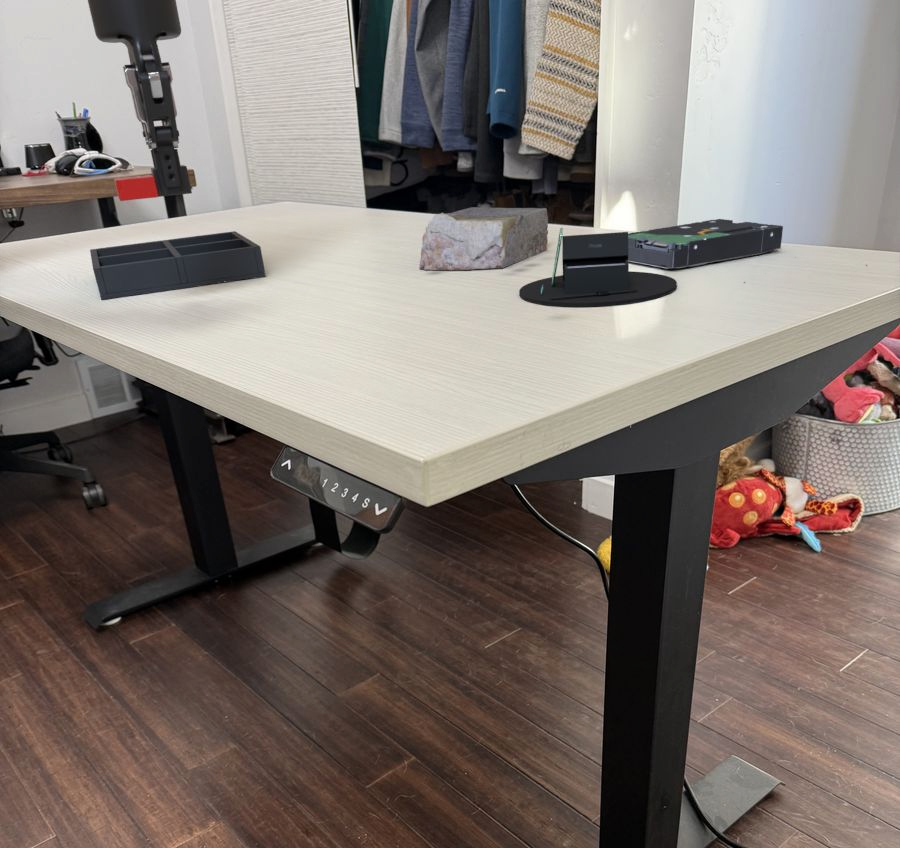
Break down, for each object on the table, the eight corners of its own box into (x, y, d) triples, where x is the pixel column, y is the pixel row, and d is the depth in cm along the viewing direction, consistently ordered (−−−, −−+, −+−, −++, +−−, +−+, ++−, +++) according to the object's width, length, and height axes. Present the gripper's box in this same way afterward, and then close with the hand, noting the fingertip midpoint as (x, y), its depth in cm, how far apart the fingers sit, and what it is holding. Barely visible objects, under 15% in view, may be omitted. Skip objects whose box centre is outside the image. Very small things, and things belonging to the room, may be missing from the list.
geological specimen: (551, 205, 105) (498, 216, 93) (549, 258, 108) (498, 275, 96) (472, 204, 109) (413, 214, 98) (473, 255, 112) (415, 271, 101)
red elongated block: (120, 201, 82) (113, 173, 81) (118, 198, 84) (112, 171, 83) (192, 193, 84) (187, 166, 83) (188, 191, 86) (183, 164, 85)
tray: (101, 300, 100) (92, 268, 98) (97, 277, 116) (89, 249, 114) (265, 276, 106) (260, 246, 104) (240, 257, 121) (235, 231, 120)
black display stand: (668, 270, 89) (671, 213, 86) (684, 301, 76) (688, 234, 73) (523, 279, 91) (521, 223, 88) (514, 310, 78) (512, 246, 75)
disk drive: (716, 244, 101) (612, 260, 96) (718, 218, 100) (613, 233, 95) (782, 252, 93) (673, 271, 88) (785, 224, 92) (675, 242, 86)
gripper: (81, -13, 80) (129, 191, 89) (83, -35, 69) (137, 201, 78) (163, -16, 82) (202, 183, 91) (178, -38, 71) (220, 192, 80)
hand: (172, 190), depth 84 cm, fingers closed on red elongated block, 2 cm apart
